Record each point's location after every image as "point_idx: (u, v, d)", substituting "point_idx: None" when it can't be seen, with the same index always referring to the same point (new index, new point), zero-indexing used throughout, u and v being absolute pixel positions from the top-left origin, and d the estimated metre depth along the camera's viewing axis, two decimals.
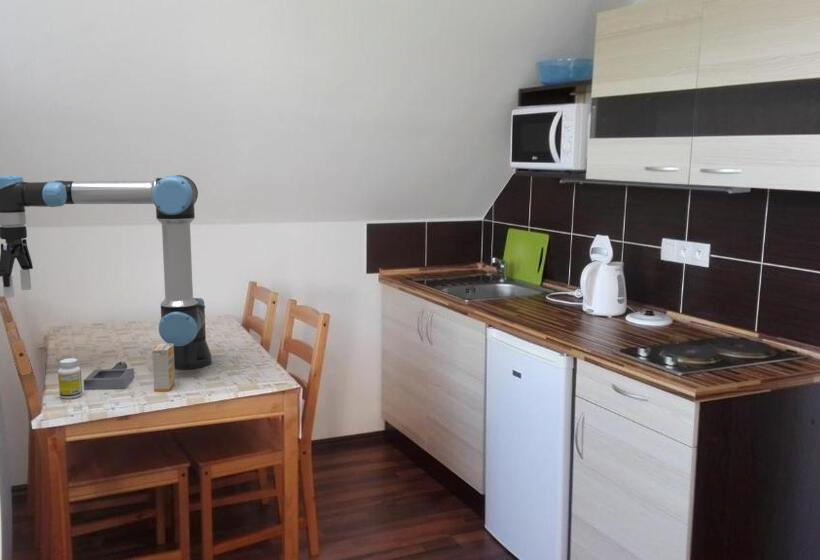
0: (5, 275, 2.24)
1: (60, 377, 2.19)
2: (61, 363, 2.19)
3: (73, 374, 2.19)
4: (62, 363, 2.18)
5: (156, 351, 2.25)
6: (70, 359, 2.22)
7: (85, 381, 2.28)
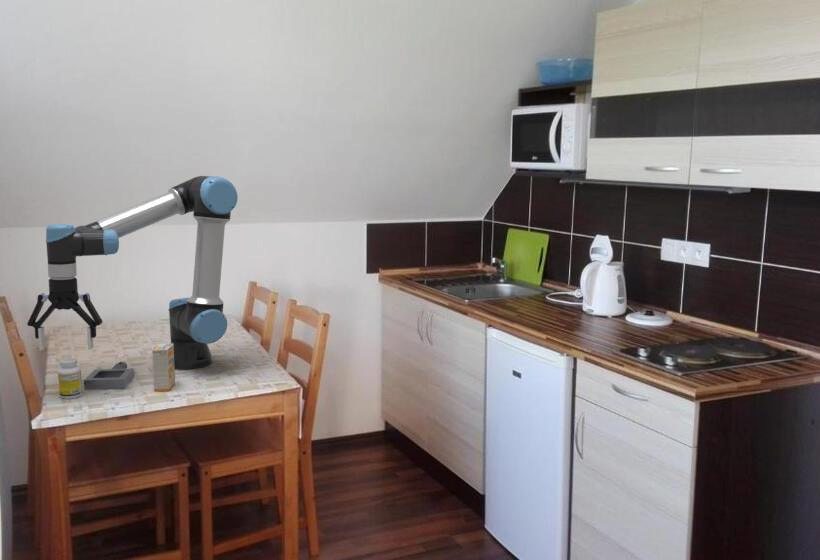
0: None
1: (60, 377, 2.19)
2: (61, 363, 2.19)
3: (73, 374, 2.19)
4: (62, 363, 2.18)
5: (156, 351, 2.25)
6: (70, 359, 2.22)
7: (85, 381, 2.28)
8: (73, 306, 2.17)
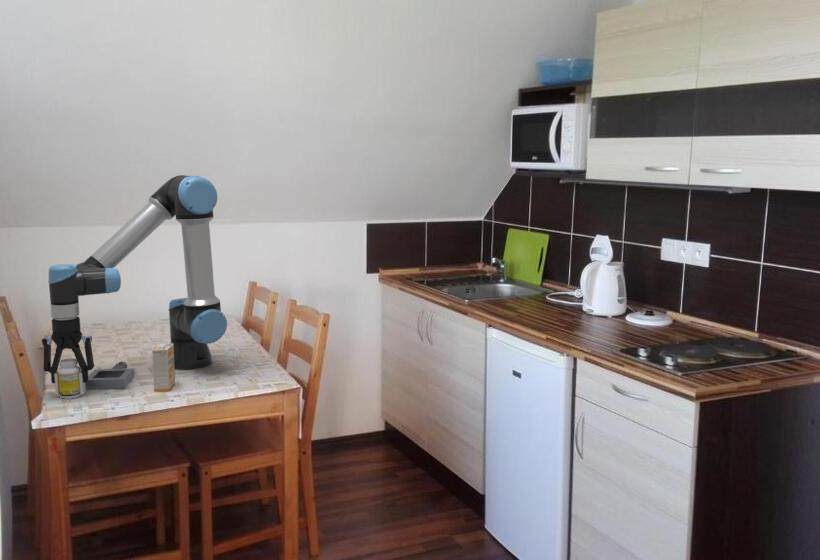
0: None
1: (60, 377, 2.19)
2: (61, 363, 2.19)
3: (73, 374, 2.19)
4: (62, 363, 2.18)
5: (156, 351, 2.25)
6: (70, 359, 2.22)
7: None
8: (73, 347, 2.19)
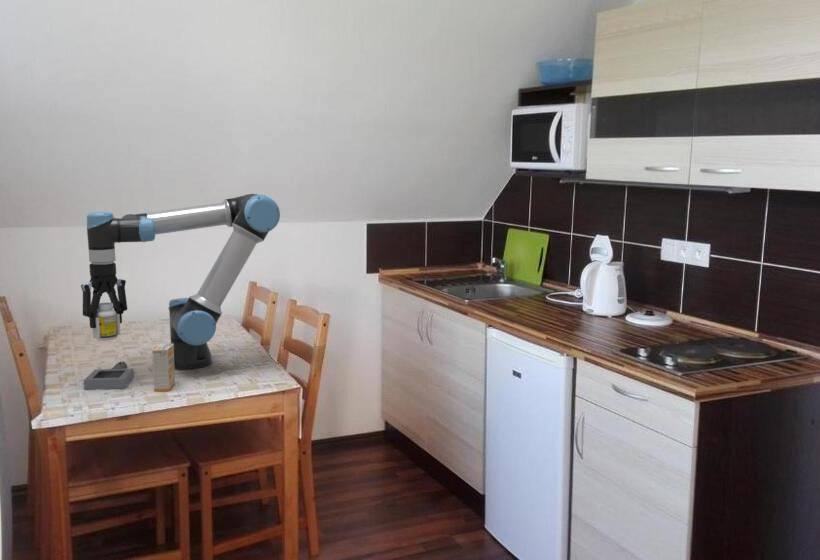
0: (88, 316, 2.27)
1: (104, 320, 2.29)
2: (103, 306, 2.29)
3: (115, 315, 2.31)
4: (105, 306, 2.29)
5: (156, 351, 2.25)
6: (103, 303, 2.32)
7: (85, 381, 2.28)
8: (113, 290, 2.31)
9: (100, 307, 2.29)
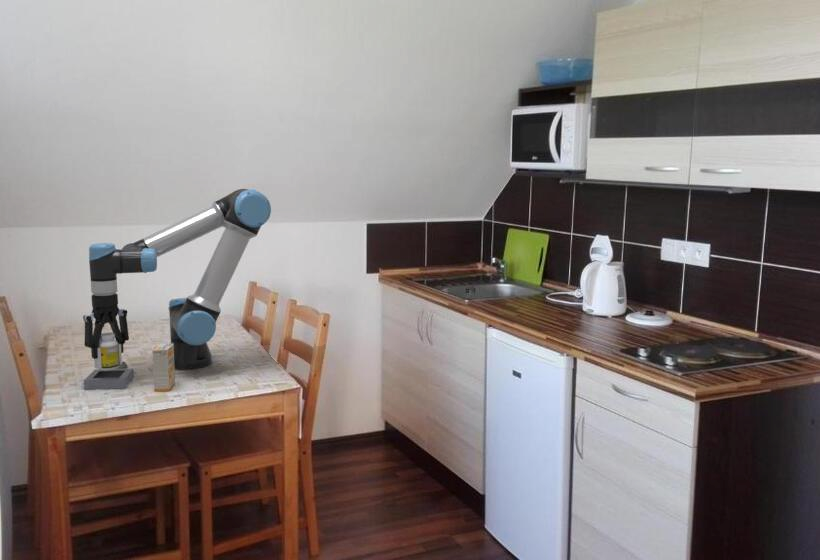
0: (90, 347, 2.28)
1: (106, 350, 2.30)
2: (105, 337, 2.30)
3: (117, 345, 2.33)
4: (107, 337, 2.30)
5: (156, 351, 2.25)
6: (105, 333, 2.33)
7: (85, 381, 2.28)
8: (115, 320, 2.33)
9: (102, 338, 2.30)
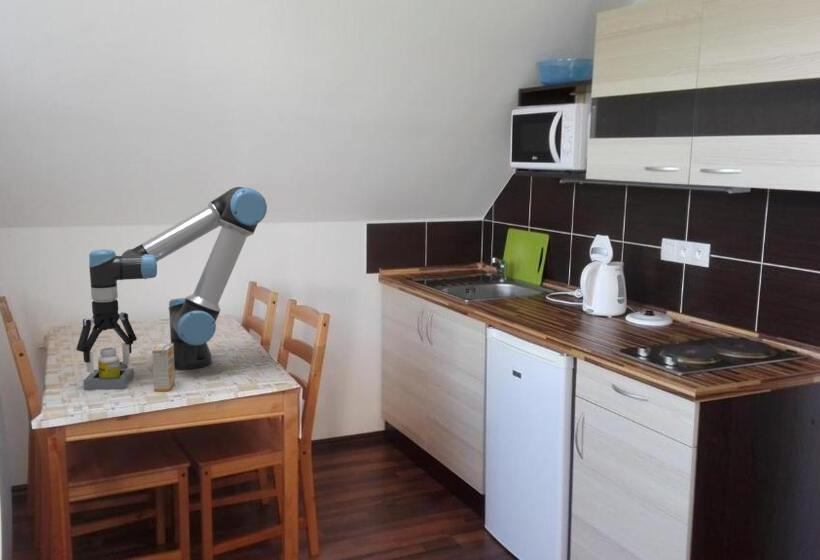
0: (82, 351, 2.26)
1: (107, 365, 2.31)
2: (106, 352, 2.31)
3: (118, 360, 2.34)
4: (108, 352, 2.31)
5: (156, 351, 2.25)
6: (106, 348, 2.34)
7: (85, 381, 2.28)
8: (117, 325, 2.33)
9: (103, 353, 2.31)
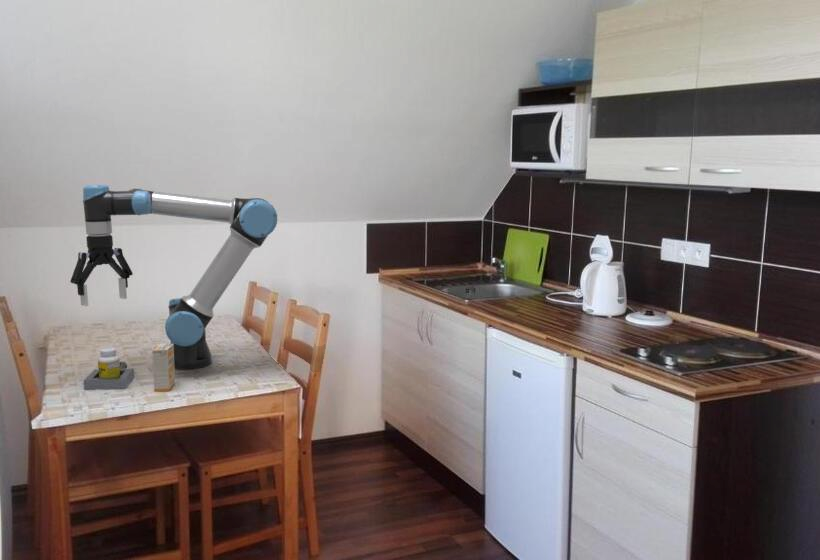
0: (76, 284, 2.27)
1: (107, 365, 2.31)
2: (106, 352, 2.31)
3: (118, 360, 2.34)
4: (108, 352, 2.31)
5: (156, 351, 2.25)
6: (106, 348, 2.34)
7: (85, 381, 2.28)
8: (113, 260, 2.35)
9: (103, 353, 2.31)
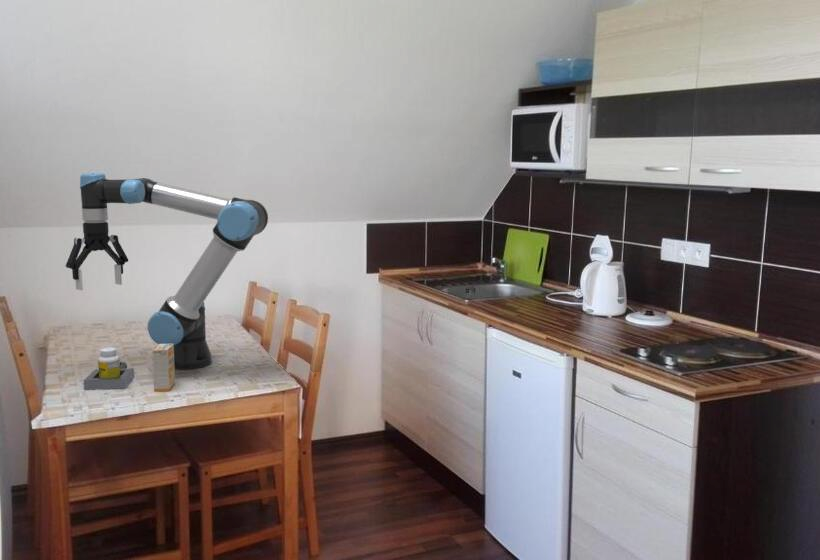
0: (71, 268, 2.34)
1: (107, 365, 2.31)
2: (107, 352, 2.31)
3: (118, 360, 2.34)
4: (108, 352, 2.31)
5: (156, 351, 2.25)
6: (106, 348, 2.34)
7: (85, 381, 2.28)
8: (108, 246, 2.42)
9: (103, 353, 2.31)
